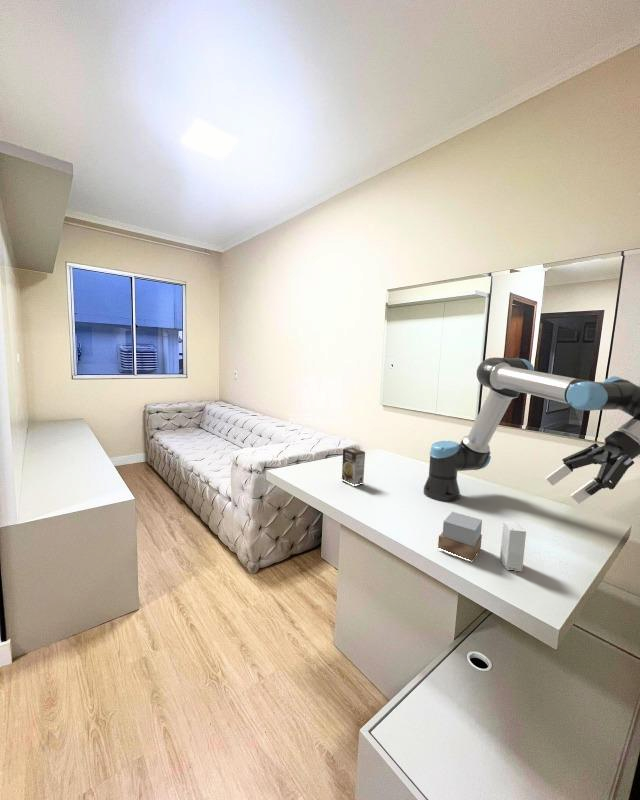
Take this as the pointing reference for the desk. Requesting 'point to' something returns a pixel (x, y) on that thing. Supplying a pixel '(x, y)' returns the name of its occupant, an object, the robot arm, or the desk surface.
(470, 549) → the tower base block
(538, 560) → the desk surface
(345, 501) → the desk surface
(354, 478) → the coffee box
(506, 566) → the skincare box
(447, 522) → the tower top block
